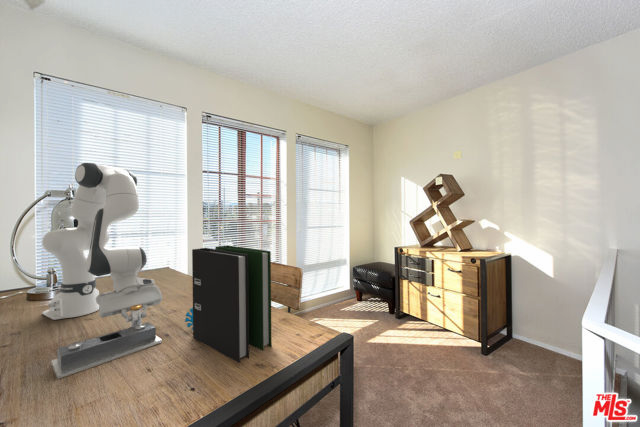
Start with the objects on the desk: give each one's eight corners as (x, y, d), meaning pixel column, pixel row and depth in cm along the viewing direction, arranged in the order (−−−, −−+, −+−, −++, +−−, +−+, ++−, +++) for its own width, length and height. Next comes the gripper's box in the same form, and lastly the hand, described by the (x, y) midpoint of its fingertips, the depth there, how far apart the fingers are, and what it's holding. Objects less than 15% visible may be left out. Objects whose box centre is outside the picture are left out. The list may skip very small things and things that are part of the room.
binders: (273, 345, 90) (272, 250, 90) (234, 365, 78) (233, 256, 78) (228, 324, 107) (227, 245, 107) (191, 338, 95) (190, 249, 95)
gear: (187, 331, 98) (184, 306, 104) (182, 338, 101) (180, 314, 107) (217, 326, 105) (213, 303, 111) (212, 334, 108) (208, 311, 114)
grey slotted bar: (57, 379, 73) (57, 358, 72) (51, 363, 80) (51, 345, 80) (161, 342, 93) (161, 326, 93) (149, 332, 100) (148, 318, 100)
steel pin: (128, 334, 100) (128, 307, 99) (137, 330, 103) (137, 304, 103) (135, 335, 98) (134, 308, 98) (144, 331, 102) (144, 305, 102)
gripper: (96, 289, 97) (103, 323, 91) (158, 278, 113) (167, 306, 107) (93, 299, 100) (100, 332, 94) (154, 287, 116) (163, 315, 109)
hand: (136, 318), depth 100 cm, fingers closed on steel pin, 3 cm apart
